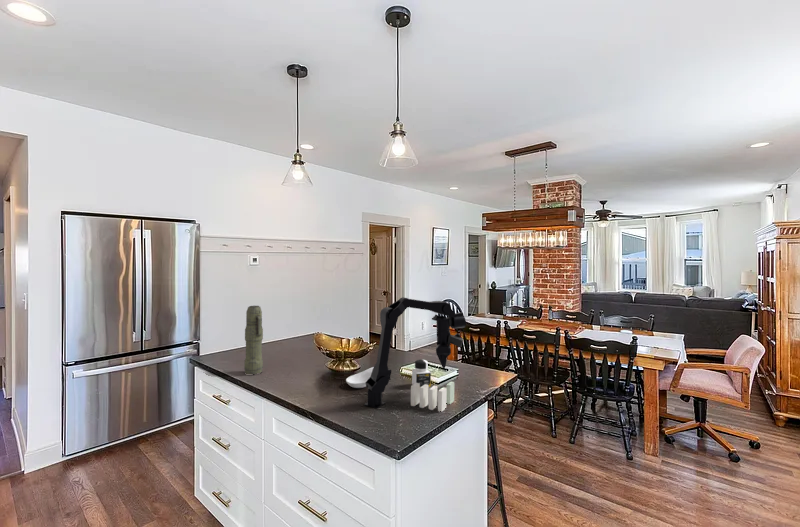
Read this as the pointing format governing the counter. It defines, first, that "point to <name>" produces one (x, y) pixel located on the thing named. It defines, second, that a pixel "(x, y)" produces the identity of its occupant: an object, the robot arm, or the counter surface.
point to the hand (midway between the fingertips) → (444, 364)
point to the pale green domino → (450, 392)
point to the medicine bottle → (421, 373)
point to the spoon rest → (359, 379)
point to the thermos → (253, 340)
